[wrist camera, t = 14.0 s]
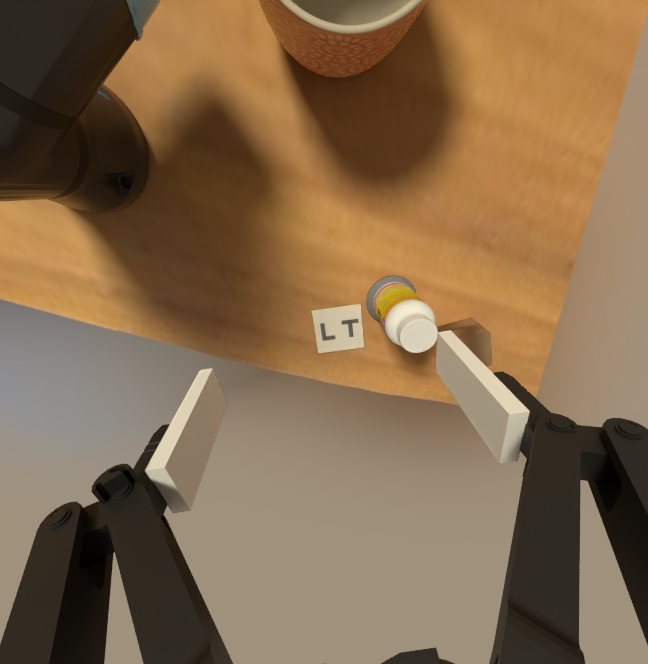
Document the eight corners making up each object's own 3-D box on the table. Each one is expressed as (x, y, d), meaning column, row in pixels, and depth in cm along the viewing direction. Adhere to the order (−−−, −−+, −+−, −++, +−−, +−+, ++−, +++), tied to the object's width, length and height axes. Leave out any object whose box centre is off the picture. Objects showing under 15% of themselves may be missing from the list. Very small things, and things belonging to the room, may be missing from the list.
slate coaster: (368, 325, 49) (368, 326, 49) (364, 279, 46) (365, 280, 46) (415, 319, 49) (416, 320, 49) (415, 272, 46) (416, 273, 45)
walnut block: (440, 355, 53) (454, 374, 47) (435, 327, 50) (450, 343, 45) (473, 346, 52) (492, 364, 47) (471, 317, 50) (490, 332, 44)
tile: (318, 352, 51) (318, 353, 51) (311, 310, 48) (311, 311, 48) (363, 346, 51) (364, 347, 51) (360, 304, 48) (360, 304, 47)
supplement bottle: (364, 296, 47) (381, 331, 35) (400, 272, 45) (430, 299, 34) (385, 327, 49) (408, 368, 38) (420, 304, 48) (455, 341, 36)
